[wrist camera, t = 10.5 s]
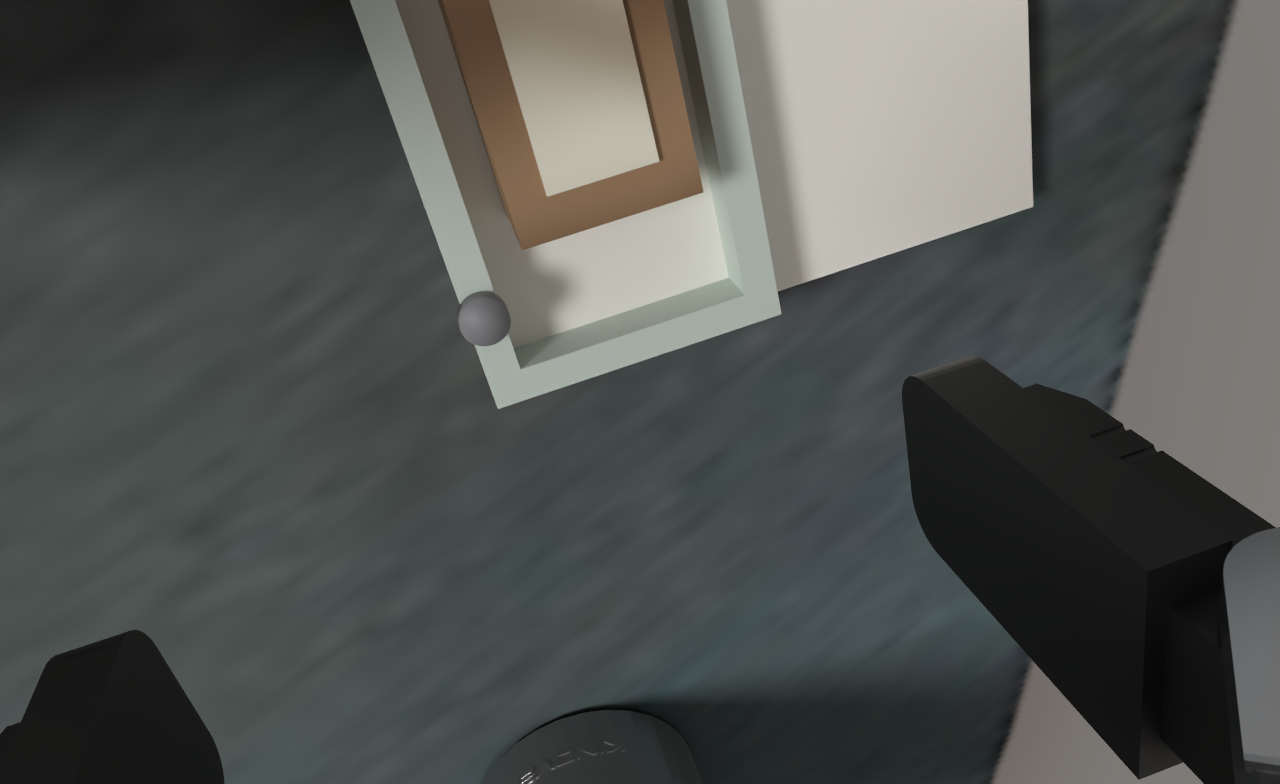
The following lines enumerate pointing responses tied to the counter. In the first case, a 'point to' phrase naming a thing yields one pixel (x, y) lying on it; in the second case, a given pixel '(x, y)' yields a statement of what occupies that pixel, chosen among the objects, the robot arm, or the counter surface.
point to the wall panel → (725, 172)
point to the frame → (575, 109)
